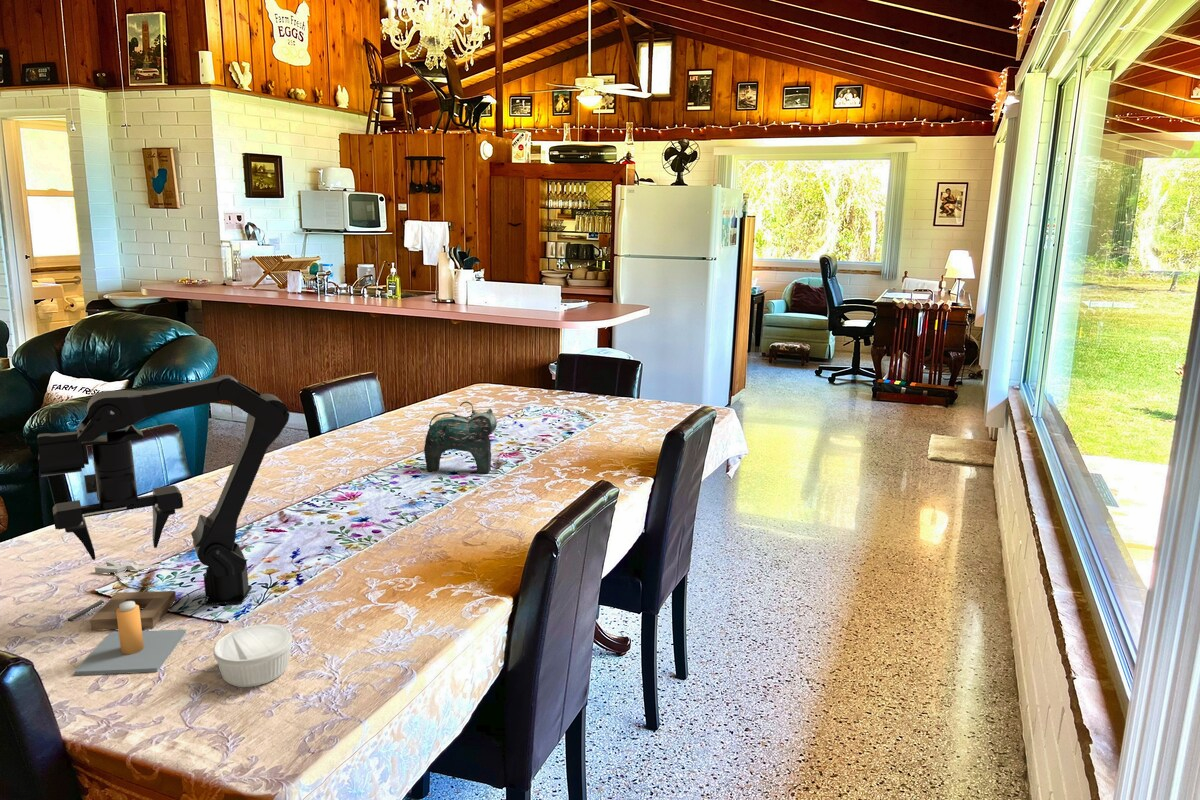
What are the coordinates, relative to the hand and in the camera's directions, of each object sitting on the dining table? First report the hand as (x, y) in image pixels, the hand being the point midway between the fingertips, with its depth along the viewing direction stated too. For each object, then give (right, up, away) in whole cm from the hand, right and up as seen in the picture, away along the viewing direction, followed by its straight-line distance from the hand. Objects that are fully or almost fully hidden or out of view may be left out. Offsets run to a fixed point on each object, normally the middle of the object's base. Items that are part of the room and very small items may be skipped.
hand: (125, 553), depth 139 cm
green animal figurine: (+43, +6, +86) cm, 97 cm away
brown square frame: (0, -12, +3) cm, 12 cm away
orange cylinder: (+6, -14, -9) cm, 18 cm away
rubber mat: (+6, -15, -8) cm, 18 cm away
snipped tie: (-9, -11, +4) cm, 15 cm away
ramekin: (+28, -16, -13) cm, 35 cm away
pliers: (-10, -8, +19) cm, 23 cm away
